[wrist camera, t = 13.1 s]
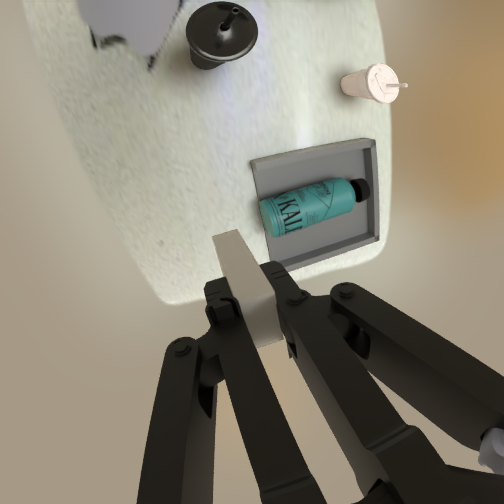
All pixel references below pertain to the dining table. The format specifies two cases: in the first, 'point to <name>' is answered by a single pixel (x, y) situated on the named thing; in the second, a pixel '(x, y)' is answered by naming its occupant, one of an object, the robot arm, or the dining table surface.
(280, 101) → the dining table surface
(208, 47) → the drinking cup
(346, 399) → the robot arm
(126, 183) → the dining table surface
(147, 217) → the dining table surface
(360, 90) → the smoothie
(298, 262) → the charcoal tray
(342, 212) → the beverage bottle
